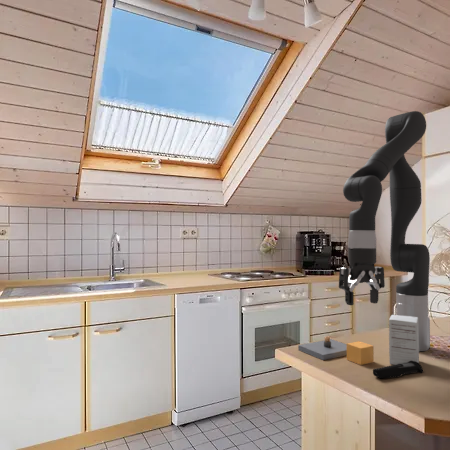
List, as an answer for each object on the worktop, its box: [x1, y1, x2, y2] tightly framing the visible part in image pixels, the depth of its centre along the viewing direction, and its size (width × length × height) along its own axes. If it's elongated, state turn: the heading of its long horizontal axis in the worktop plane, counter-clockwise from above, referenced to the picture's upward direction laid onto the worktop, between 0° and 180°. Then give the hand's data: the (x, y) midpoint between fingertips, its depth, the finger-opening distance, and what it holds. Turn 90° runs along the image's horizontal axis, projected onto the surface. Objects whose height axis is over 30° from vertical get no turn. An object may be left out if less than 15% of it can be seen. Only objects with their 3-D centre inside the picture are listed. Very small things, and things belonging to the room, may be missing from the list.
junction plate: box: [297, 335, 347, 361], centre depth 118 cm, size 14×11×4 cm
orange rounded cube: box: [346, 341, 375, 366], centre depth 109 cm, size 5×5×5 cm
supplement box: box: [388, 314, 420, 365], centre depth 108 cm, size 7×7×13 cm
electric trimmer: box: [372, 361, 425, 379], centre depth 99 cm, size 4×16×3 cm, turn 113°
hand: (361, 304), depth 107 cm, fingers open, 8 cm apart
